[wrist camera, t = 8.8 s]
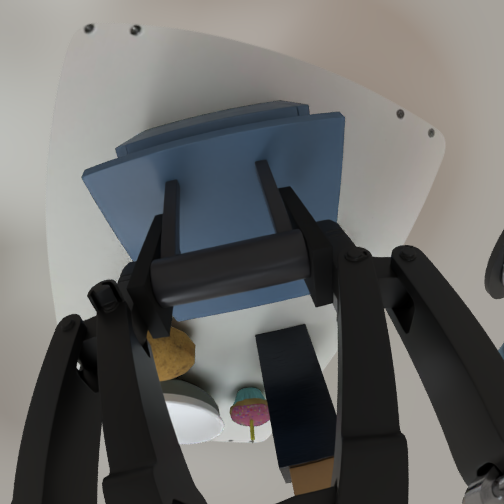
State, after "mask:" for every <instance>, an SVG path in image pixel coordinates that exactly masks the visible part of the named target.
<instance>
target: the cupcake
mask: <svg viewBox="0 0 504 504" xmlns="http://www.w3.org/2000/svg"><path fill="white" fill-rule="evenodd" d="M230 415H231V418H232V421H234V422H236V423H237V424H240V425H243V426H249V427H250V433H251V440H252V443H253V440H255V436H254V426H260V425H263V424H264V423H266V422H267V421H268V420H270V416H269V411H268V405H267V400H266V399H265V398H264V396H263V395H262V393H261V391H260V390H259V389H257V388H252V387H250V388H244V389H241V390H240V391H239V392H238V393H237V396H236V400H235V402H234V404H233V406H231V408H230Z"/></svg>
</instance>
